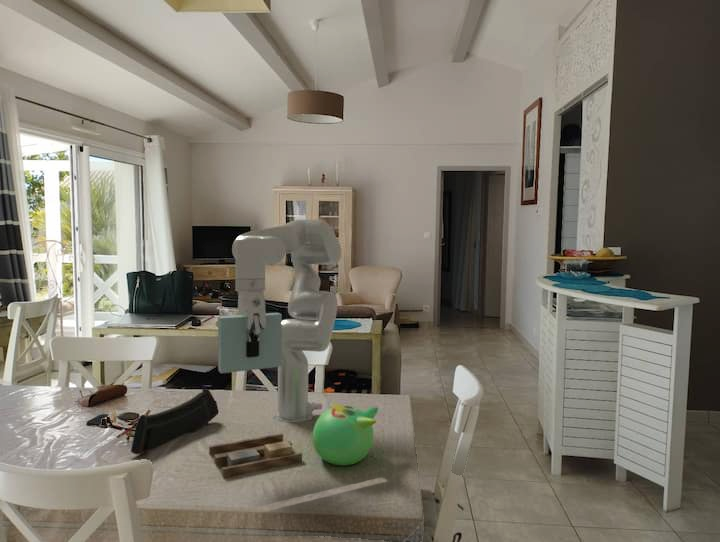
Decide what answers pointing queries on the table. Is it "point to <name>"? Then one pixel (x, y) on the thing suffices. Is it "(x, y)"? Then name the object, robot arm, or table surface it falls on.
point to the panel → (234, 344)
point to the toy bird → (344, 434)
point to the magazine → (174, 422)
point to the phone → (97, 420)
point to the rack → (220, 460)
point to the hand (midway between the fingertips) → (250, 354)
